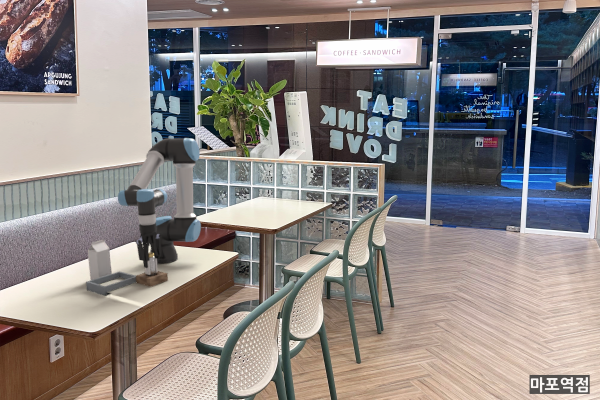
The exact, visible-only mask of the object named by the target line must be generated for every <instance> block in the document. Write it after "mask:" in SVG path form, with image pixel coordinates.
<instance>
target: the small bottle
mask: <svg viewBox="0 0 600 400" xmlns="http://www.w3.org/2000/svg"><path fill="white" fill-rule="evenodd" d="M148 260H149V261H150V272H151V274H150V275H148V276H150V277H152V276H155V275H156V269H155V257H154V253H153V252H150V251H148Z"/></svg>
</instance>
